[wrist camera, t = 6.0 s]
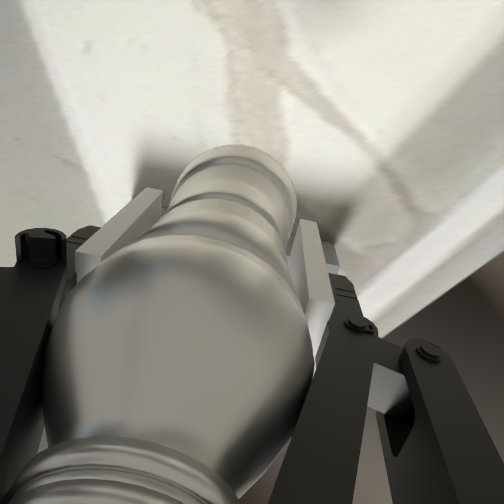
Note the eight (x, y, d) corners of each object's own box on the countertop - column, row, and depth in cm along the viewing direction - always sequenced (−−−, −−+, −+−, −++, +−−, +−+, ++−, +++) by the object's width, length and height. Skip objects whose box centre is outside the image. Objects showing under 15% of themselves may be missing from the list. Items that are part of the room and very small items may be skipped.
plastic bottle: (161, 201, 23) (-248, 654, 5) (232, 109, 21) (-86, 380, 3) (244, 265, 25) (144, 793, 7) (320, 187, 22) (477, 692, 4)
